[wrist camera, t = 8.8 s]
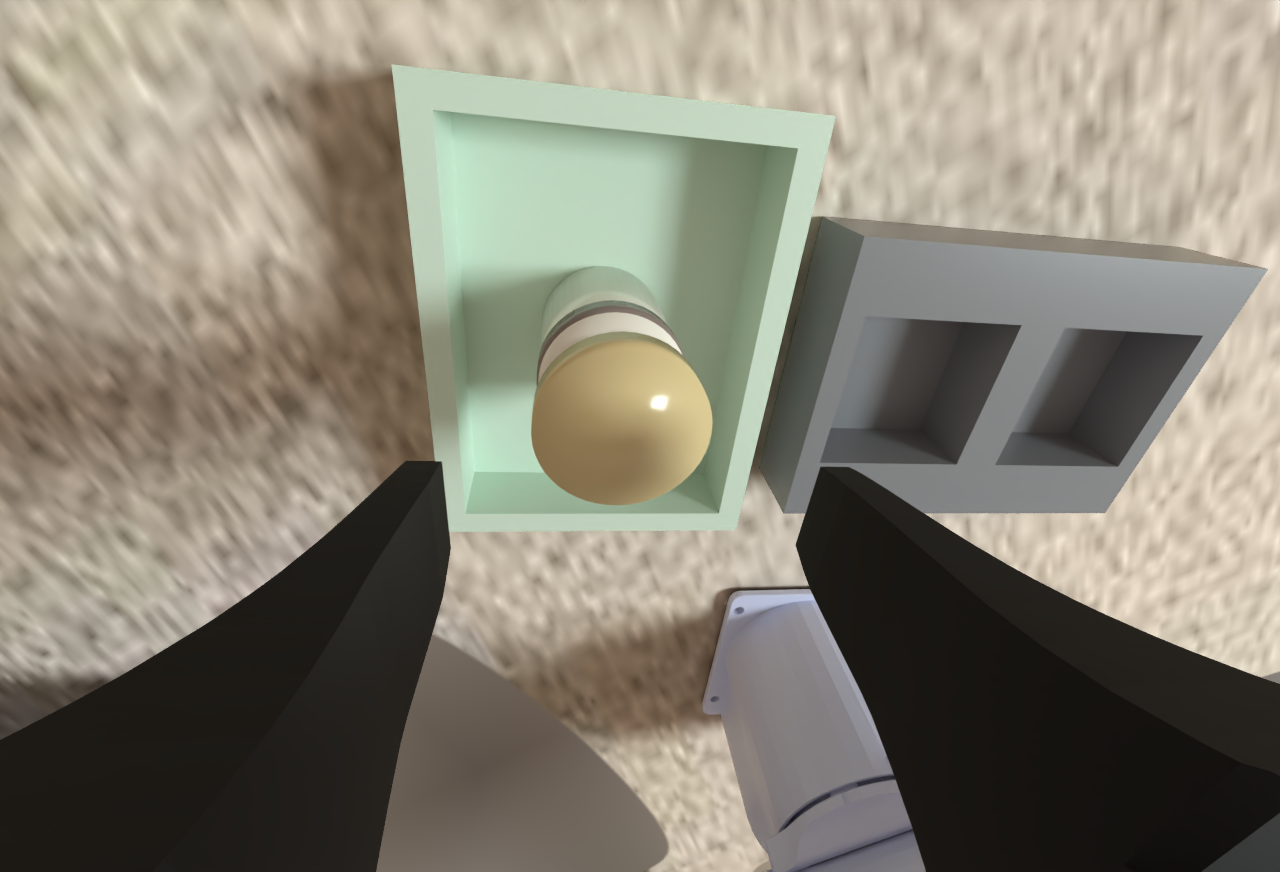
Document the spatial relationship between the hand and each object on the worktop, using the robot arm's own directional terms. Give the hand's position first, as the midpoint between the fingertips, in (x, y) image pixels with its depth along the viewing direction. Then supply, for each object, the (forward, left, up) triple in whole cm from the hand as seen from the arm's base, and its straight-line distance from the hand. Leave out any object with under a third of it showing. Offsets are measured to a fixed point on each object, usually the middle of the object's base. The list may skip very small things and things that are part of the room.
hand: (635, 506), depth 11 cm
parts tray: (0, 0, -10) cm, 10 cm away
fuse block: (-1, -14, -10) cm, 17 cm away
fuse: (0, 0, -10) cm, 10 cm away
